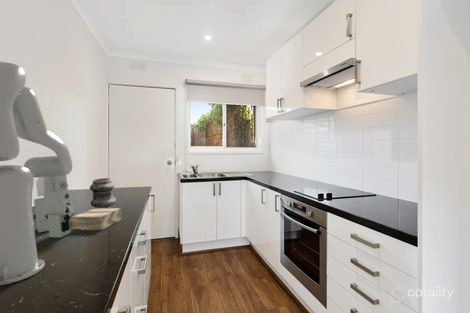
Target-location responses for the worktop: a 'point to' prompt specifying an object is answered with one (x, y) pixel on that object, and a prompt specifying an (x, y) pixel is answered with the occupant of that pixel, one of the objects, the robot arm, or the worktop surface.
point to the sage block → (56, 226)
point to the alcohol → (40, 186)
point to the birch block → (97, 218)
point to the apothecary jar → (102, 193)
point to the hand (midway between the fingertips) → (60, 230)
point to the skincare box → (40, 214)
